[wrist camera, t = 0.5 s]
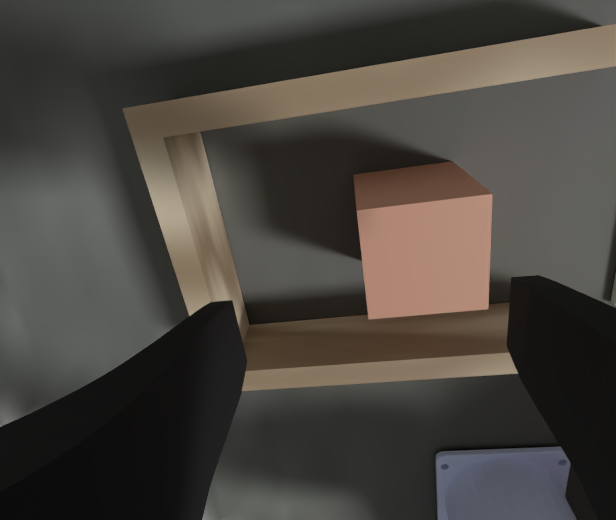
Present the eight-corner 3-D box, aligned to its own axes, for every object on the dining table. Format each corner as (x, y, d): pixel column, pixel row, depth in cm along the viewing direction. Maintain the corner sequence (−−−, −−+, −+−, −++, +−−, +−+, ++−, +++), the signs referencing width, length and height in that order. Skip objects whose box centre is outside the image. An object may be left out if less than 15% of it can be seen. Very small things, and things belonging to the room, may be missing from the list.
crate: (567, 316, 21) (613, 367, 17) (234, 343, 24) (214, 392, 20) (604, 26, 16) (683, 12, 12) (166, 101, 18) (122, 108, 14)
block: (452, 250, 20) (488, 309, 15) (362, 260, 21) (368, 319, 16) (451, 161, 18) (492, 194, 13) (353, 174, 19) (356, 210, 14)
